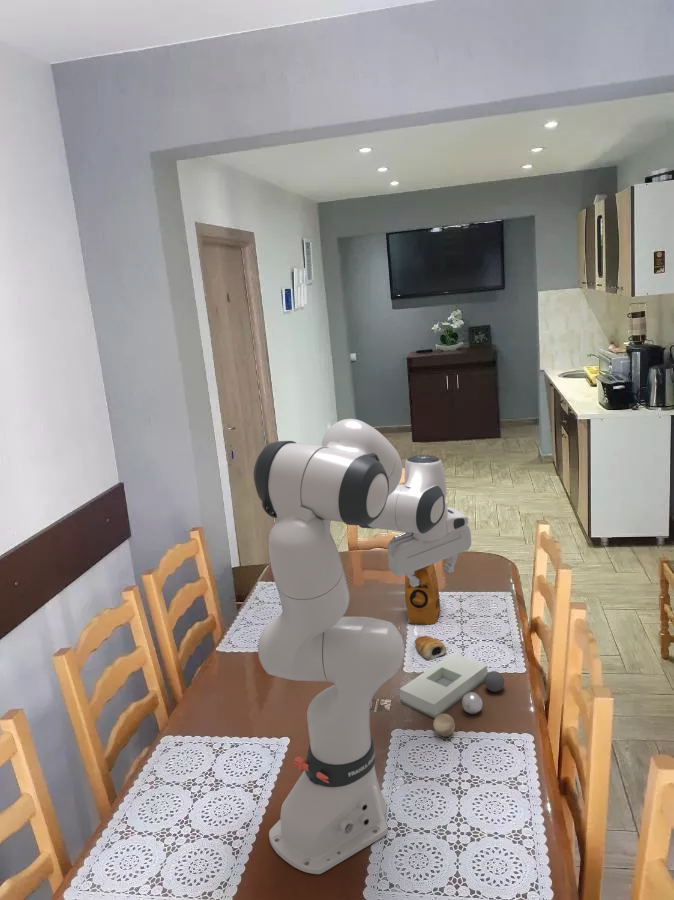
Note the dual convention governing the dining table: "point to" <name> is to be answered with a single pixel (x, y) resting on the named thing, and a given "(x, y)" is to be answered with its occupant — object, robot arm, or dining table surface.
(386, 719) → the dining table surface
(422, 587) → the coffee package
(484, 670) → the pocket board
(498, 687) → the rubber ball
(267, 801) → the dining table surface
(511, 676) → the dining table surface
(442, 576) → the dining table surface
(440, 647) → the pastry
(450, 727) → the ash ball
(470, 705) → the steel ball
